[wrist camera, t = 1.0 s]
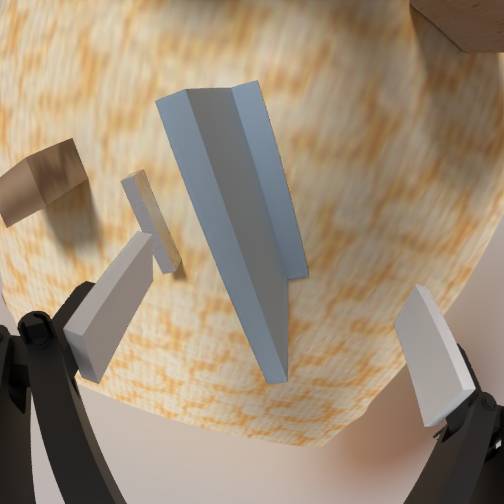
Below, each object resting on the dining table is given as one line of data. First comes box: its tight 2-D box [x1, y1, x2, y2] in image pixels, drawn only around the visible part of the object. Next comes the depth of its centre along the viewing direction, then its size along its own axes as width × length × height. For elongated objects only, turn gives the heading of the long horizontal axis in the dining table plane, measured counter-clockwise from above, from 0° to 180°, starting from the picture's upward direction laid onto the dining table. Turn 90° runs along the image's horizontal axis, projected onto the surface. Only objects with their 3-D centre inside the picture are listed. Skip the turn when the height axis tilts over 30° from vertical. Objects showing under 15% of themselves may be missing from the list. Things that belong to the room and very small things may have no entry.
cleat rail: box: [121, 169, 181, 274], centre depth 39 cm, size 14×2×3 cm, turn 16°
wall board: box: [155, 81, 309, 384], centre depth 29 cm, size 26×5×18 cm, turn 16°
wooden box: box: [0, 138, 88, 228], centre depth 33 cm, size 6×11×10 cm, turn 106°
